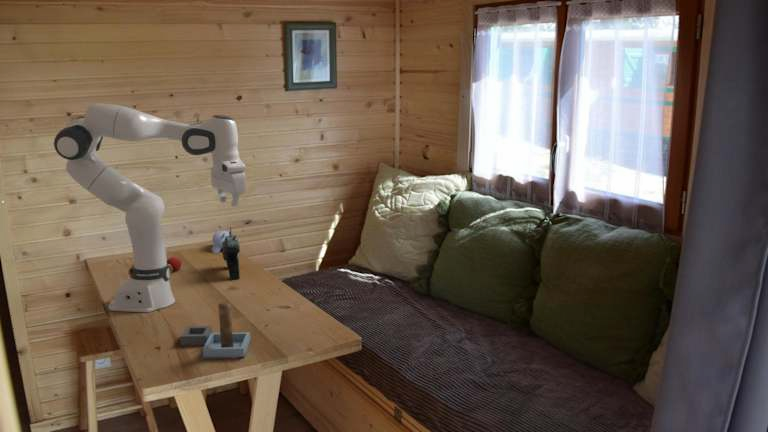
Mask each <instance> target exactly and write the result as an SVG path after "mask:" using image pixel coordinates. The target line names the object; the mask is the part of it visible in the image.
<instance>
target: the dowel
mask: <svg viewBox="0 0 768 432" xmlns="http://www.w3.org/2000/svg"><path fill="white" fill-rule="evenodd" d="M218 317H219V318H218V319H219V320H218V321H219V333H220V336H221V348H224V347H233V333H234V332H233V320H232V317H233V315H232V304H231V303H230V302H228V301H223V302H220V303H218Z"/></svg>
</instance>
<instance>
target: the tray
mask: <svg viewBox="0 0 768 432" xmlns="http://www.w3.org/2000/svg"><path fill="white" fill-rule="evenodd" d="M250 341H251V333H250V331H249V332H247V331H244V332H243V331H242V332H233V347H224V348H221V336H220V332H212V333H211V334H210V336H209V338H208V340H207V342H206V344H205V345H203V347H202V359H203V360H206V359H210V360H211V359H212V358H219V359H239V358H238V357H244V358H245V357H246V355H245V354H247V351H248V349H249V347H250V344H251V342H252V341H251V342H250ZM232 357H233V358H232ZM234 357H235V358H234ZM212 360H213V359H212Z"/></svg>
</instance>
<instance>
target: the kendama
mask: <svg viewBox="0 0 768 432" xmlns="http://www.w3.org/2000/svg"><path fill="white" fill-rule="evenodd" d="M167 263H168V266H169V273H170V275H171V274H172V273H173V272H174V271H175V272H177V271H180V269H181V267H182V262H181V260H180V258H178V257H176V256H172V257H170V258H167Z"/></svg>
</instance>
